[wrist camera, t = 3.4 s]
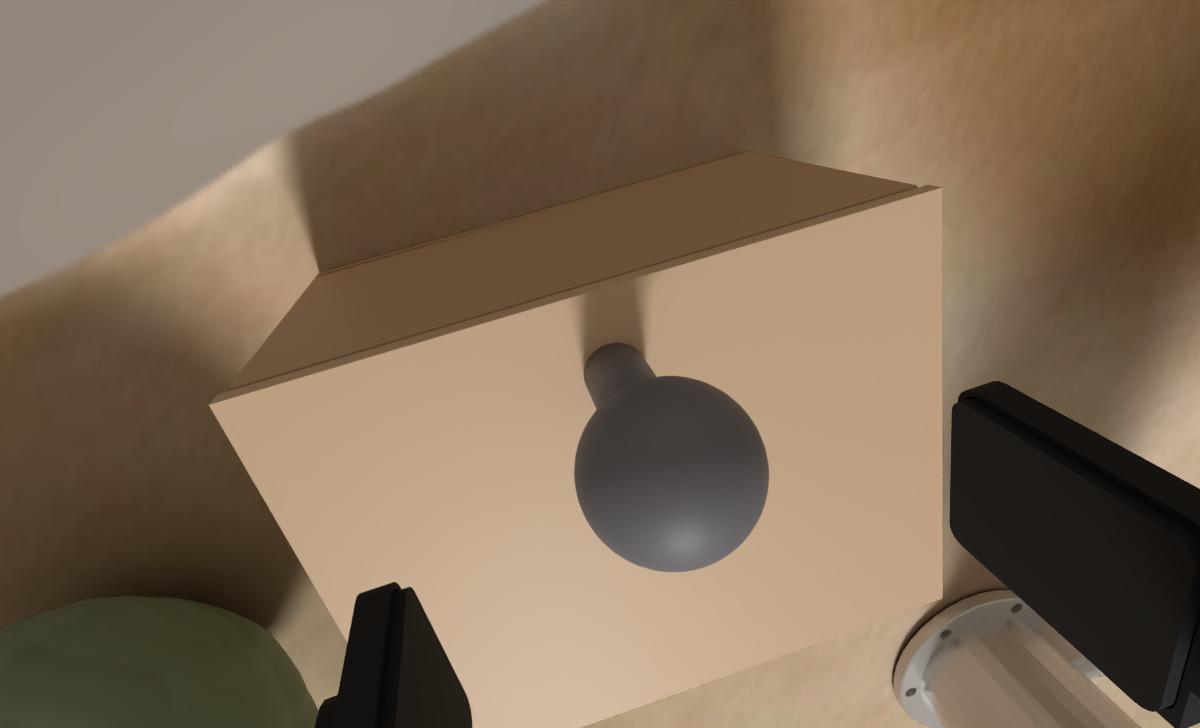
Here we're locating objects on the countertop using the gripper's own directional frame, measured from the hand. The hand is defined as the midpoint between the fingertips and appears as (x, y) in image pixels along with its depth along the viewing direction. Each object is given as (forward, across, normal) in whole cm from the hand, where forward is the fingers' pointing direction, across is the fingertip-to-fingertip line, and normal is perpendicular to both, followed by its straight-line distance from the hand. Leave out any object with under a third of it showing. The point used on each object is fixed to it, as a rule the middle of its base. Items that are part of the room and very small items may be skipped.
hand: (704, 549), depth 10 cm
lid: (+9, 0, +14) cm, 16 cm away
